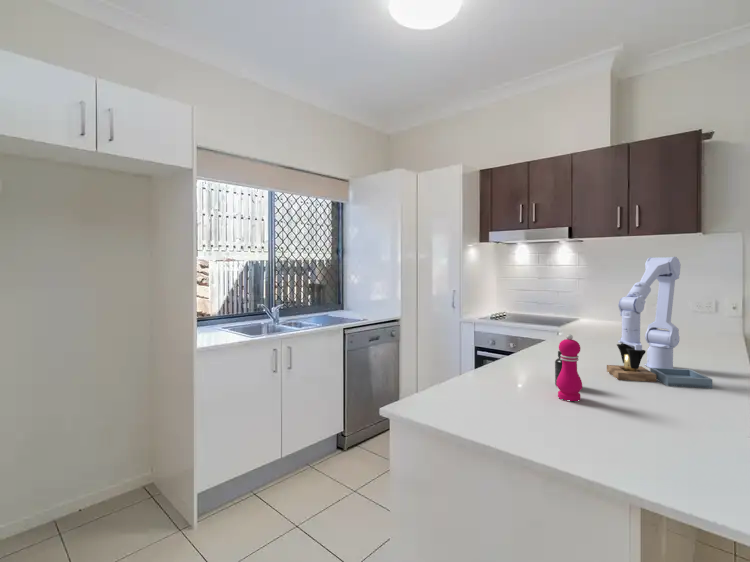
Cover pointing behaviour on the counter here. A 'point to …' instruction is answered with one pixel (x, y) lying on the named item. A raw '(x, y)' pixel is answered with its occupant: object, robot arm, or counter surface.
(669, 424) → the counter surface
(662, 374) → the slate-blue tray
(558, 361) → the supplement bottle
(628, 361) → the brass peg
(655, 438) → the counter surface
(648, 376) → the walnut socket block
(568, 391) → the pepper mill
